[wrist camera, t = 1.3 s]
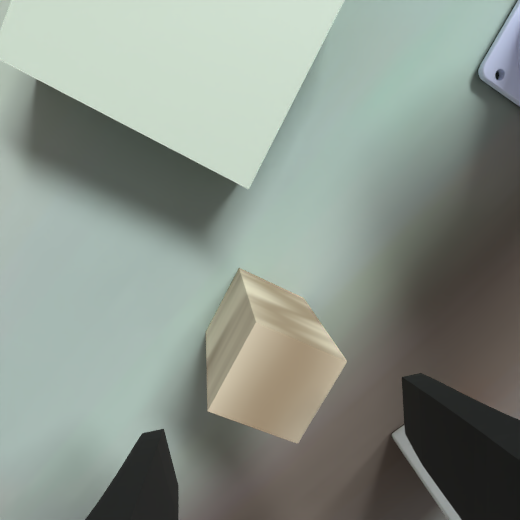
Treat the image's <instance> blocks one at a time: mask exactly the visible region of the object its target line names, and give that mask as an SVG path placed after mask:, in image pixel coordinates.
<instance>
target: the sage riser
mask: <svg viewBox="0 0 520 520" xmlns="http://www.w3.org/2000/svg"><path fill="white" fill-rule="evenodd" d="M343 2H344V0H11V2H10V5H9V8H8V11H7V13H6V16H5V19H4V22H3V24H2V27H1V30H0V60H1V61H3V62H5V63H6V64H8V65H10V66H12V67H14V68H16V69H18V70H20V71H22V72H24V73H26V74H28V75H30V76H31V77H33V78H35V79H37V80H39V81H41V82H43V83H45V84H47V85H49V86H51V87H53V88H55V89H56V90H58V91H60V92H62V93H64V94H66V95H68V96H70V97H72V98H74V99H76V100H78V101H80V102H81V103H83V104H85V105H87V106H89V107H91V108H93V109H95V110H97V111H99V112H101V113H103V114H105V115H106V116H108V117H110V118H112V119H114V120H116V121H118V122H120V123H122V124H124V125H126V126H128V127H130V128H132V129H133V130H135V131H137V132H139V133H141V134H143V135H145V136H147V137H149V138H151V139H153V140H155V141H157V142H158V143H160V144H162V145H164V146H166V147H168V148H170V149H172V150H174V151H176V152H178V153H180V154H182V155H183V156H185V157H187V158H189V159H191V160H193V161H195V162H197V163H199V164H201V165H203V166H205V167H207V168H208V169H210V170H212V171H214V172H216V173H218V174H220V175H222V176H224V177H226V178H228V179H230V180H232V181H233V182H235V183H237V184H239V185H241V186H243V187H245V188H247V189H249V188H250V186H251V184H252V182H253V180H254V178H255V176H256V174H257V172H258V170H259V168H260V166H261V164H262V162H263V160H264V158H265V156H266V154H267V152H268V150H269V148H270V146H271V144H272V142H273V140H274V138H275V136H276V135H277V133H278V131H279V129H280V127H281V125H282V123H283V121H284V119H285V117H286V115H287V113H288V111H289V109H290V107H291V105H292V103H293V101H294V99H295V97H296V95H297V93H298V91H299V89H300V87H301V85H302V83H303V81H304V79H305V77H306V75H307V73H308V71H309V69H310V67H311V65H312V63H313V61H314V60H315V58H316V56H317V54H318V52H319V50H320V48H321V46H322V44H323V42H324V40H325V38H326V36H327V34H328V32H329V30H330V28H331V26H332V24H333V22H334V20H335V18H336V16H337V14H338V12H339V10H340V8H341V6H342V4H343Z"/></svg>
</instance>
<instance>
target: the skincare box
mask: <svg viewBox="0 0 520 520" xmlns="http://www.w3.org/2000/svg"><path fill="white" fill-rule="evenodd" d="M392 437H393V439H394V441H395V442H396V444H397V445H398V447H399V448H400V450H401V451H402V453H403V454H404V456H405V457H406V459H407V460H408V462H409V463H410V465H411V466H412V467H413V469H414V470H415V472H416V473H417V475H418V476H419V478H420V479H421V481H422V482H423V484H424V485H425V487H426V488H427V490H428V491H429V492H430V494H431V495H432V497H433V498H434V500H435V501H436V503H437V504H438V506H439V507H440V509H441V510H442V512H443V513H444V515H445V516H446V518H447V519H448V520H461V518H460V517H459V515H458V514H457V513H456V511H455V510H454V509H453V507H452V506H451V504H450V503H449V502H448V500H447V499H446V498H445V496H444V495H443V493H442V492H441V491H440V489H439V488H438V486H437V485H436V484H435V482H434V481H433V479H432V478H431V477H430V475H429V474H428V472H427V471H426V470H425V468H424V467H423V465H422V464H421V462H420V460H419V458H418V457H417V455H416V453H415V451H414V450H413V448H412V446H411V444H410V442H409V440H408V438H407V437H406V435H405V425H403V426H402V427H400V428H399V429H397V430H396V431H395V432H394V433H392Z"/></svg>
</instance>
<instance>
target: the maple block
mask: <svg viewBox="0 0 520 520" xmlns="http://www.w3.org/2000/svg"><path fill="white" fill-rule="evenodd" d="M346 363H347V360H346V359H345V357H344V356H343V355H342V353H341V352H340V350H339V349H338V347H337V346H336V344H335V343H334V341H333V340H332V339H331V337H330V336H329V334H328V333H327V331H326V330H325V328H324V327H323V325H322V324H321V323H320V321H319V320H318V318H317V317H316V315H315V314H314V312H313V311H312V309H311V308H310V306H309V305H308V304H307V302H306V301H305V299H304V298H303V297H301V296H298V295H296V294H294V293H292V292H290V291H288V290H285V289H283V288H281V287H279V286H277V285H275V284H273V283H270V282H268V281H266V280H264V279H262V278H260V277H257V276H255V275H253V274H251V273H249V272H247V271H245V270H242V269H240V268H239V269H238V271H237V273H236V275H235V277H234V279H233V281H232V283H231V284H230V286H229V288H228V290H227V292H226V294H225V296H224V298H223V300H222V302H221V304H220V306H219V307H218V309H217V311H216V313H215V315H214V317H213V319H212V321H211V323H210V325H209V327H208V329H207V330H206V364H207V411H208V412H211V413H214V414H216V415H219V416H222V417H225V418H228V419H230V420H233V421H236V422H239V423H241V424H244V425H247V426H250V427H253V428H255V429H258V430H261V431H264V432H266V433H269V434H272V435H275V436H277V437H280V438H283V439H286V440H289V441H291V442H294V443H297V444H298V443H299V441H300V439H301V438H302V436H303V434H304V433H305V431H306V429H307V428H308V426H309V424H310V423H311V421H312V419H313V418H314V416H315V414H316V413H317V411H318V409H319V408H320V406H321V404H322V403H323V401H324V399H325V398H326V396H327V394H328V393H329V391H330V389H331V388H332V386H333V384H334V383H335V381H336V379H337V378H338V376H339V374H340V373H341V371H342V369H343V368H344V366H345V364H346Z"/></svg>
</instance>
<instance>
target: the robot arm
mask: <svg viewBox="0 0 520 520" xmlns="http://www.w3.org/2000/svg"><path fill="white" fill-rule="evenodd" d="M496 71H498V72H499V79H498V80H497V79H496V78H495V73H496ZM478 74H479V77H480V78H481V80H483V81H484V82H485V83H487V84H488V85H490V86H491V87H492V88H494V89H495V90H497V91H498V92H500V93H501V94H502V95H504V96H505V97H507V98H508V99H510V100H511V101H512V102H514V103H515V104H517V105H518V106H519V107H520V0H518V1H517V3H516V5H515V6H514V8H513V10H512V12H511V13H510V15H509V17H508V18H507V20H506V22H505V24H504V25H503V27H502V29H501V30H500V32H499V34H498V36H497V37H496V39H495V41H494V43H493V44H492V46H491V48H490V49H489V51H488V53H487V55H486V56H485V58H484V60H483V61H482V63H481V65H480V67H479V73H478ZM402 389H403V407H404V425H405V435H406V437H407V438H408V440H409V442H410V444H411V446H412V448H413V450H414V451H415V453H416V455H417V457H418V458H419V460H420V462H421V464H422V465H423V467H424V468H425V470H426V471H427V472H428V474H429V475H430V477H431V478H432V479H433V481H434V482H435V484H436V485H437V486H438V488H439V489H440V491H441V492H442V493H443V495H444V496H445V498H446V499H447V500H448V502H449V503H450V504H451V506H452V507H453V509H454V510H455V511H456V513H457V514H458V515H459V517H460V518H461V520H520V420H518V419H516V418H513V417H511V416H509V415H506V414H504V413H502V412H500V411H497V410H495V409H493V408H491V407H489V406H487V405H485V404H483V403H481V402H478V401H476V400H474V399H472V398H470V397H468V396H466V395H464V394H462V393H460V392H458V391H456V390H454V389H452V388H450V387H448V386H447V385H445V384H443V383H441V382H439V381H437V380H435V379H433V378H430V377H428V376H426V375H424V374H422V373H419V374H415V375H410V376H406V377H402ZM85 520H178V483H177V479H176V475H175V471H174V467H173V463H172V459H171V455H170V451H169V448H168V444H167V440H166V436H165V432H164V429H161V430H156V431H151V432H147V433H142V435H141V436H140V437H139V439H138V441H137V442H136V444H135V445H134V447H133V449H132V450H131V452H130V454H129V455H128V457H127V459H126V460H125V462H124V463H123V465H122V467H121V468H120V470H119V471H118V473H117V475H116V476H115V478H114V479H113V481H112V482H111V484H110V485H109V487H108V488H107V490H106V491H105V493H104V494H103V496H102V497H101V499H100V500H99V502H98V503H97V504H96V506H95V507H94V508H93V510H92V511H91V513H90V514H89V515H88V517H87V518H86V519H85Z"/></svg>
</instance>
